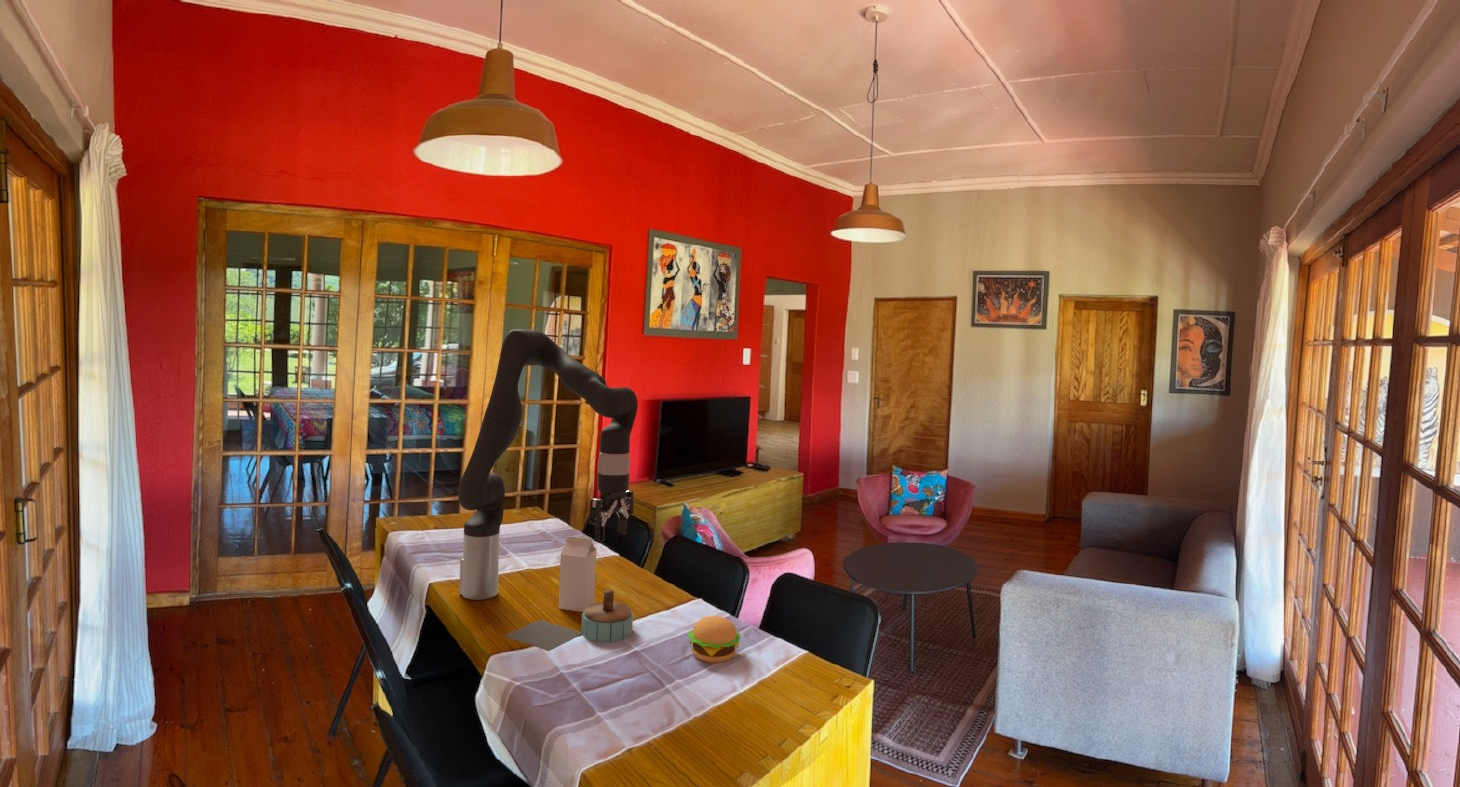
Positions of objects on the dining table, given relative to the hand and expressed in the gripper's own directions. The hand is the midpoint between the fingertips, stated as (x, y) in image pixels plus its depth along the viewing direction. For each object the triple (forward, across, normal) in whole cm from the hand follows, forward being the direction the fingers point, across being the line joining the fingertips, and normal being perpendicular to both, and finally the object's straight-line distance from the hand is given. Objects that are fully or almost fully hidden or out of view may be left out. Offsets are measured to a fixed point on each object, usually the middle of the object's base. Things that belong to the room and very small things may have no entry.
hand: (610, 537), depth 175 cm
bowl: (+24, 0, 0) cm, 24 cm away
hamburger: (+24, -5, +27) cm, 37 cm away
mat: (+24, +10, -11) cm, 28 cm away
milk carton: (+24, -9, -17) cm, 31 cm away
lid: (+19, 0, 0) cm, 19 cm away
